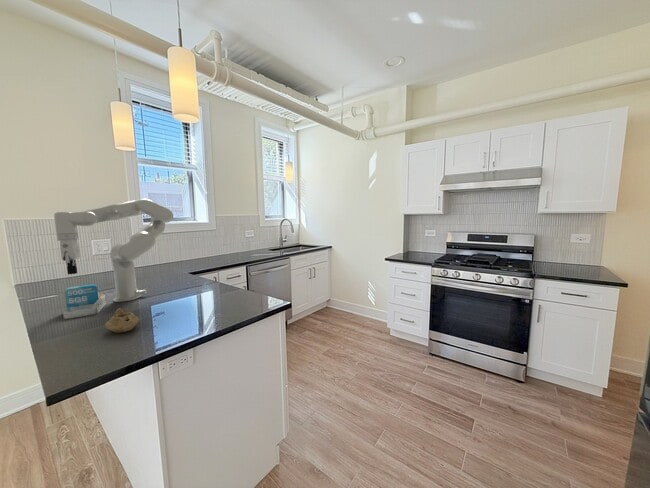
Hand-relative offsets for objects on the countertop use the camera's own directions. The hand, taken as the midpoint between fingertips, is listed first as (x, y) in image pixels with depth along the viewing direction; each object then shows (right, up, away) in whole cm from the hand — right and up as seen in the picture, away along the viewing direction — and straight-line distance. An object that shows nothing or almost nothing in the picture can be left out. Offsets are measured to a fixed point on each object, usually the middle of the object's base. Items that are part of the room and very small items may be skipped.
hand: (72, 273), depth 134 cm
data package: (+3, -19, +3) cm, 19 cm away
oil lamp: (+45, -20, -26) cm, 56 cm away
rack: (+7, -19, 0) cm, 20 cm away
